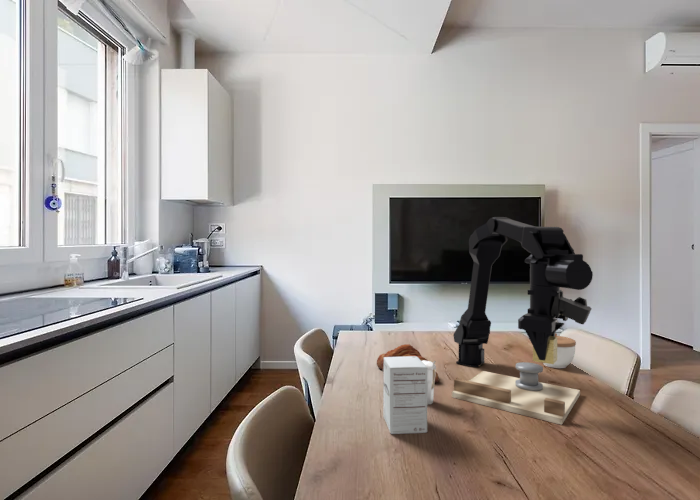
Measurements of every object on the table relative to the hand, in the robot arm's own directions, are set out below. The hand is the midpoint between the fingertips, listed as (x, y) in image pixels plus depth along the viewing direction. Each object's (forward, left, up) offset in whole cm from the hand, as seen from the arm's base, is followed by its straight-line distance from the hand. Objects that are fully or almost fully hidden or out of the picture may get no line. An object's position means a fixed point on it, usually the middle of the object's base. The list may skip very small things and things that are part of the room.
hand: (544, 357), depth 86 cm
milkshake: (-22, -12, -11) cm, 27 cm away
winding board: (-7, +4, -11) cm, 14 cm away
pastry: (-36, +2, -12) cm, 38 cm away
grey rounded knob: (-6, +9, -10) cm, 15 cm away
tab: (0, 0, -1) cm, 1 cm away
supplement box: (-20, -25, -11) cm, 34 cm away
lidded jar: (-6, +37, -11) cm, 39 cm away
